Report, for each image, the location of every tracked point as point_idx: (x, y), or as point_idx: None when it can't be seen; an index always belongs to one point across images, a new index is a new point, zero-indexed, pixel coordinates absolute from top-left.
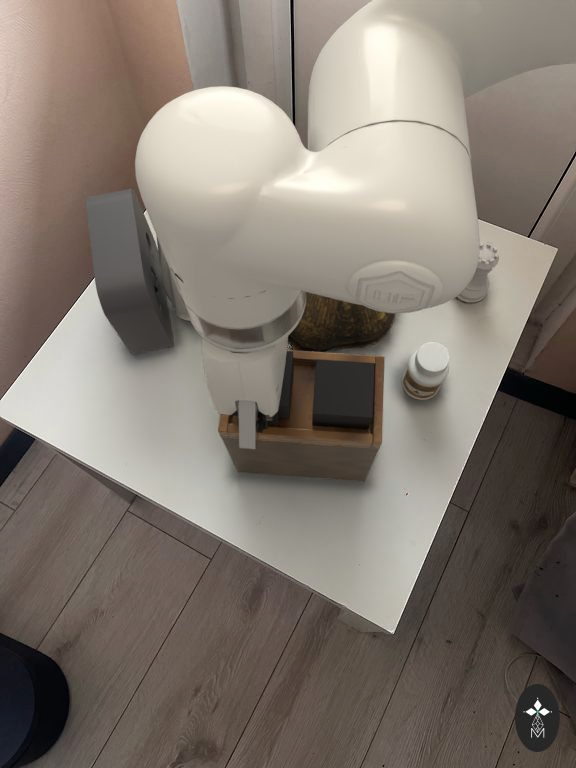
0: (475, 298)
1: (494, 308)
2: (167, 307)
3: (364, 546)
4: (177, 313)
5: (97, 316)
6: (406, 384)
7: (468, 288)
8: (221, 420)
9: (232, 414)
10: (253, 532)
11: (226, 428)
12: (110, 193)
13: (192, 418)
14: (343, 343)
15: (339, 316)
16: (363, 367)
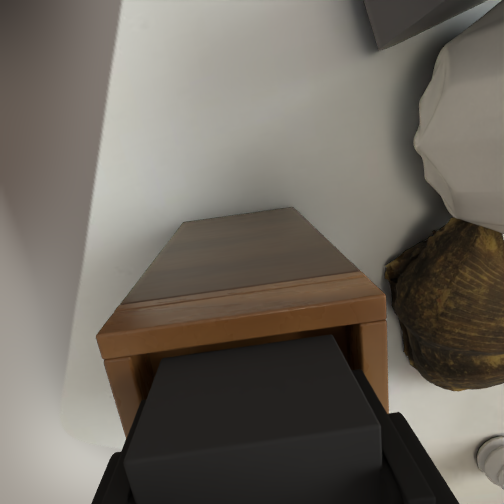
0: (483, 467)
1: (468, 480)
2: (459, 12)
3: None
4: (452, 41)
5: None
6: None
7: (501, 473)
8: (131, 337)
9: (159, 364)
10: (104, 265)
11: (112, 356)
12: None
13: (251, 125)
14: (407, 330)
15: (458, 350)
16: None
